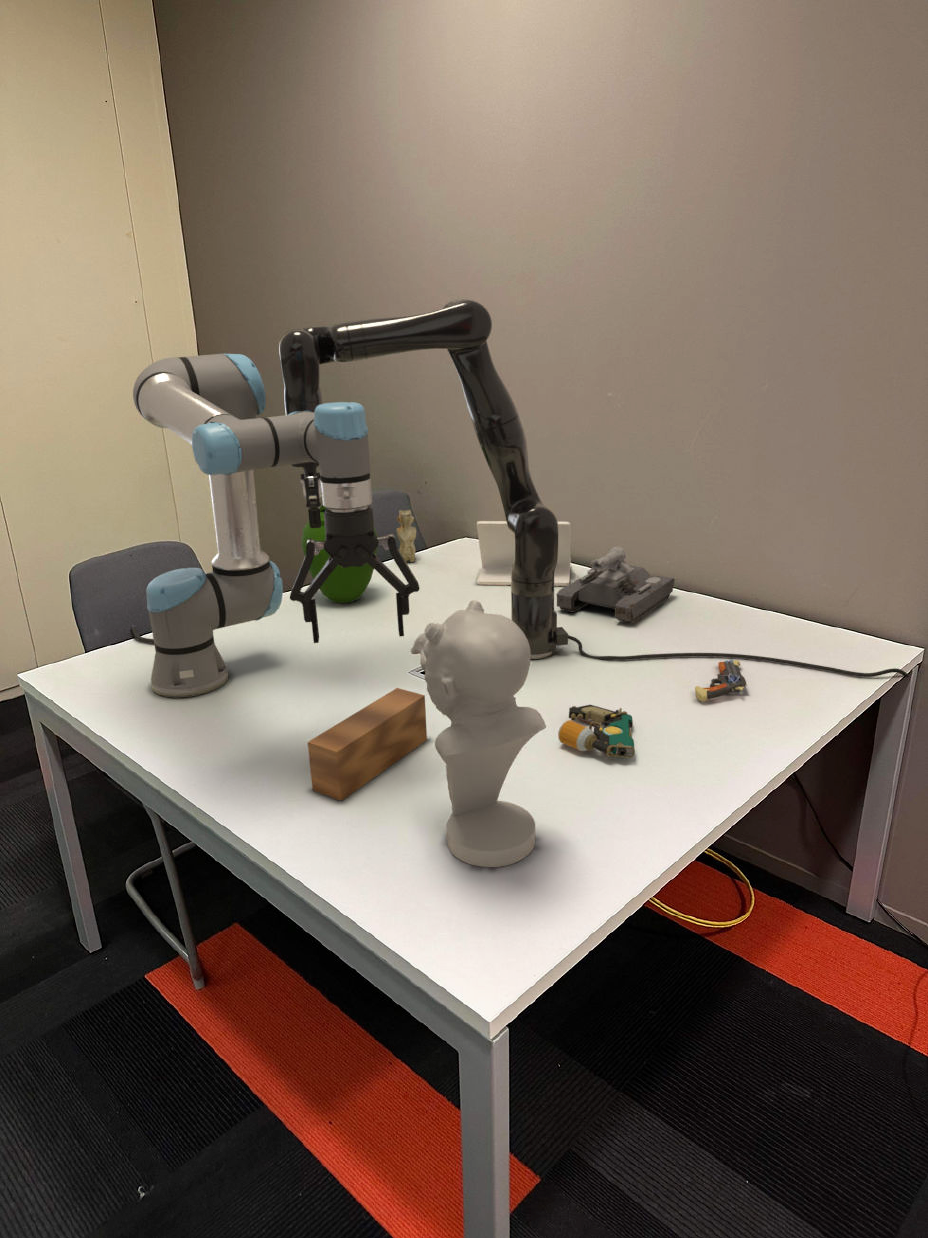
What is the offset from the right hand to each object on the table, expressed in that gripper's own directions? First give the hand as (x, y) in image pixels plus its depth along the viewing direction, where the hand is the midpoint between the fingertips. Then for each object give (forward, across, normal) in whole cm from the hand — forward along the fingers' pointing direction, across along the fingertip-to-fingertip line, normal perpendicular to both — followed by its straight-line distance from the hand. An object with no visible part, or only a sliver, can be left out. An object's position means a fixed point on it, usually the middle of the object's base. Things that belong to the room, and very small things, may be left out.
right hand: (315, 522), depth 168 cm
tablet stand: (+33, +54, -56) cm, 85 cm away
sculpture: (+33, +78, -26) cm, 88 cm away
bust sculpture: (+33, -63, -18) cm, 73 cm away
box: (+33, -40, -6) cm, 52 cm away
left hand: (+10, -38, -5) cm, 40 cm away
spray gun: (+33, -40, -46) cm, 69 cm away
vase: (+33, +47, -6) cm, 58 cm away
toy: (+33, +25, -72) cm, 83 cm away
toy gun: (+33, -25, -76) cm, 86 cm away
